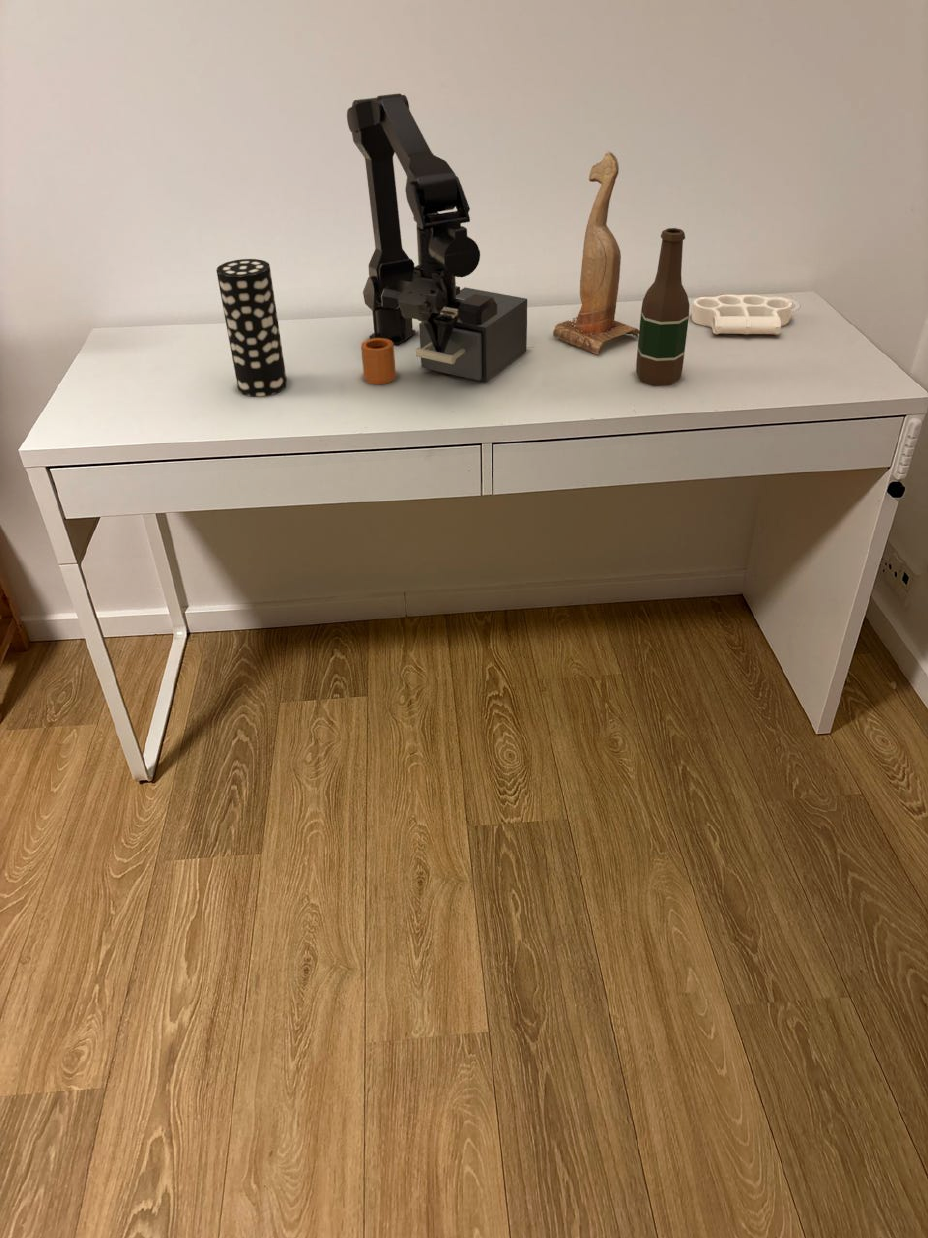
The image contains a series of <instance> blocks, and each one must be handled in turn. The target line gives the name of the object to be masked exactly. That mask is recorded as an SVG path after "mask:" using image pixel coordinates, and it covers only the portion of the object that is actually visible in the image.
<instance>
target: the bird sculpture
mask: <svg viewBox="0 0 928 1238" xmlns="http://www.w3.org/2000/svg"><path fill="white" fill-rule="evenodd" d="M619 168H620V166H619V161H618V158H617V157H616V155H615V154H614V153H613V152H611V151H609V150H607V151H606V152H605V154H604V156H603V158H602V160H601V161H599V162H596V163H595V164H593V166H592V167H591V168H590V171H589V175H588V176H589V177H588V181H589V182H592V183H594V182H595V183H599V184H600V188H599V189H598V192H597V193H596V195H595V199H594V202H593V204H592V207H591V210H590V213H589V217H588V220H587V224H586V228H585V231H584V233H585V234H584V240H583V250H582V257H581V258H582V259H581V268H580V276H579V277H580V279H579V297H580V302H581V307H580V310H579V312H578V314H577V315H576V317H573V318H572V320H566V321H562V322H560V323H557V324H556V325H555V326H554V329H553V331H552V337H554V338H556V339H558V340H561V341H562V342H566V343H568V344H570V345H572V346H575V347H576V348H581V349H582V350H585V351H587V352H589V353H593V354H595V355H599V353H600V350H601V349H602V346H603V345H604V343H606V342H608V341H610V340H612V339H615V338H617V337H620V336H622V335H624V334H626V335H629V336H630V335H632V336H633V337H636V338H637V339H639V329H638V328H637V327H633V326H631V325H628V324H625V323H622V322H621V321H617V320H615V319H616V317H615V316H616V309H617V302H618V294H619V284H620V277H621V276H620V275H621V263H622V261H621V260H622V254H621V253H622V252H621V249H620V246H619V244H618V242H617V239H616V238H615V236H614V234H613V232H612V231H611V230H610V228H609V227H608V224H607V222H608V216H609V215H608V214H609V208H610V202H611V197H612V193H613V189H614V187H615V184H616V179H617V178H618V175H619V171H620V169H619Z"/></svg>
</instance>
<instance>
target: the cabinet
mask: <svg viewBox="0 0 928 1238" xmlns="http://www.w3.org/2000/svg"><path fill="white" fill-rule="evenodd" d="M474 294H478V295H483V296H489V297H493V298H494V299H495V301H496V303H497V315H495V316H494V317H492V318H491V319H489V320H488V321H487V322H485V323H484V324H482V325H478V326H476V325H471V324H466V323H462V322H461V320H460V319H458V321H457V323H456V324H455V326H458V327H463V328H468V329H473V330H478V331H482V360H483V372H482V378H481V379H480V380H479V382H483V383H488V382H490V381H491V380H492V379H493V378H494V377H496V376H498V374H500V373H501V372H502V371H504V370H505V369H506V368H507V367H509V366H510V365H511V364H512V363H514V362H515V361H516V360H518V359H519V358H520V357H521V356H522V355H524V354H525V353H527V349H528V348H527V347H528V346H527V345H528V343H527V342H528V339H527V338H528V298H525V297H521V296H514V295H510V294H504V293H499V292H493V291H486V290H481V289H477V288H470V287H466V286H465V287H463V288H460V293H459V294H458V295H456V298H460V299H465V300H466V299H467V298H469V297H470V296H472V295H474Z"/></svg>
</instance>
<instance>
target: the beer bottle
mask: <svg viewBox="0 0 928 1238" xmlns="http://www.w3.org/2000/svg"><path fill="white" fill-rule="evenodd" d="M660 238H661V245H660V252H659V258H658V265H657V272H656V274H655V278H654V282H653V283H652V284H651V285H650V287H648V289H647V290H646V292H645V294H644V297H643V299H642V304H641V310H640V319H639V329H638V330H639V334H638V338H637V339H638V340H637V341H638V342H637V351H636V363H635V365H636V366H635V372H636V376H638V377H637V378H638V379H639V381H640V382H641V383H644V384H645V383H646V384H647V385H651V386H653V387H654V386H655V387H657V386H671V385H674V383H677V382H678V381H679V380H681V377H682V375H683V368H684V361H685V360H684V359H685V353H686V344H687V336H688V327H689V318H690V306H691V305H690V301H689V296H688V293H687V291H686V289H685V288H684V286H683V281H682V270H683V269H682V268H683V267H682V266H683V248H684V247H683V246H684V240H685V239H686V234H685V232H684V230H683V229H681V228H676V227H669V228H665V229H663V230H662V231H661V234H660Z"/></svg>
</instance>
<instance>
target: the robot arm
mask: <svg viewBox="0 0 928 1238" xmlns="http://www.w3.org/2000/svg"><path fill="white" fill-rule="evenodd" d="M346 121H347V126H348V129H349V131H350V133H351V137H352V142H353V143H354V145H355V146H356V148H357V149H358V150H359V152H360V154H361V155H362V157H363V158H364V163H365V170H366V179H367V180H366V181H367V187H368V196H369V205H370V213H371V221H372V228H373V229H372V230H373V238H374V239H373V240H374V248H375V249H374V252H373V253H372V256H371V259H370V261H369V263H368V276H369V277H367V279H366V282H365V285H364V288H363V291H362V295H363V302H364V305H366V306H367V307H368V308H369V309H370V310H371V311H372V321H373V333H372V334H370V335H369V339H373V338H385V339H389V340H391V341H392V342H393V344H394V345H395V346H396V345H397V346H398V345H400V344H402V343H404V342H405V341H407V340H408V339H410V338H411V337H413V336H414V335H416V334H417V331H416V330H415V329H414V328H413V327H414V326H413V320H417V321H419V322H420V323H421V322H423V324H424V325H425V327H426V329H427V331H428V333H429V336H430V338H431V341H432V343H433V345H434V348H435V350H436V352H440V353H444V351H445V349H446V346H447V344H448V341H449V339H450V336H451V333H452V331H453V329H454V326H455V324H456V323H457V321H458V319H460V320H461V322H462V323H466V324H471V325H476V326H478V325H482V324H484V323H485V322H487V321H488V320H489V319H491V318H492V317H494V316H495V315H497V303H496V301H495V299H494V298H493V297H489V296H483V295H478V294H474V295H472V296H470V297H469V298H467V299H466V300H465V299H460V298H456V295H458V294H459V293H460V290H461V286H458V285H456V284H457V283H456V278H465V277H467V276H470V275H471V274H472V273H473V272H474V271H476V269H477V267H478V266H479V263H480V259H481V251H480V249H479V246H478V244H477V242H476V241H475V240H474V239H472V238H471V237H470V236H468V228H467V227H465V226H463V225H462V224H465V223H470V222H471V217H470V214H469V212H470V210H471V208H470V205H469V203H468V199H467V197H466V193H465V191H464V189H463V185H462V183H461V181H460V179H459V177H458V176H457V175H456V172H455V171H454V170H453V169H452V167H451V166H450V164H449V163H448V162H447V161H446V160H445V159H443V158H441V157H439V156H437V155H435V154H434V153H433V152H432V149H431V148H430V146H429V144H428V142H427V140H426V138H425V137H424V135H423V132H422V130H421V129H420V128H419V125H418V124H417V122H416V120H415V118H414V116H413V114H412V112H411V110H410V104H409V99H408V97H407V95H405V94H402V93H391V94H390V93H389V94H381V95H377V96H376V97H371V98H359V99H355V100H353V101H352V103H351V106H350V107H348V109H347V110H346ZM395 155H396V157H397V160H398V161H399V163H400V166H401V167H402V169H403V172H404V173H405V176H406V181H405V188H404V189H405V190H404V191H405V196H406V201H407V204H408V206H409V209H410V211H411V213H412V216H413V218H412V219H413V221H414V222H415V223H416V242H417V243H416V244H417V245H416V246H417V261H418V262H417V263H418V264H417V265H415V262H414V261H413V259H412V258H410V257H409V255H408V254H407V252H406V251H405V250H404V248H403V242H402V232H401V222H400V212H399V204H398V203H399V202H398V193H397V184H396V183H397V182H396V174H395V165H394V156H395ZM455 208H456V210H454V209H455ZM446 211H447V212H446ZM439 212H441V213H439Z"/></svg>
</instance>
